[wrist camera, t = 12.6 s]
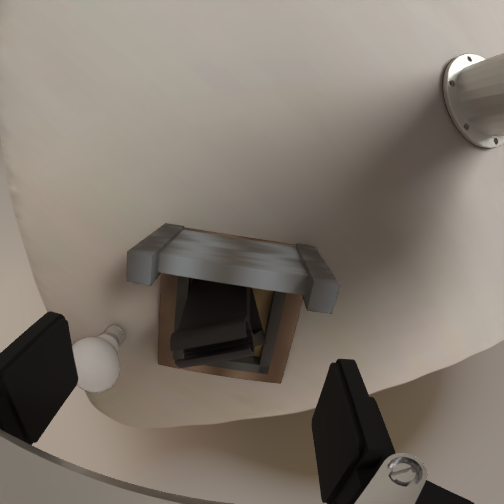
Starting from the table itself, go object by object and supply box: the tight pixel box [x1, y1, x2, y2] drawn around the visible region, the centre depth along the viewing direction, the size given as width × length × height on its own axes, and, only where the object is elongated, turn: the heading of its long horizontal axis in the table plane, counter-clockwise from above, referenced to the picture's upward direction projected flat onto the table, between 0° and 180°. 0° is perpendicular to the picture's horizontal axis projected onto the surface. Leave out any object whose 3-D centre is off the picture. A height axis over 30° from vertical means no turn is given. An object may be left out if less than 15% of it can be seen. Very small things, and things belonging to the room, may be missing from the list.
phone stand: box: [170, 278, 266, 368], centre depth 29 cm, size 9×6×12 cm, turn 14°
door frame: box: [127, 223, 340, 383], centre depth 31 cm, size 16×18×12 cm
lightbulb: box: [72, 325, 125, 393], centre depth 33 cm, size 6×6×11 cm
